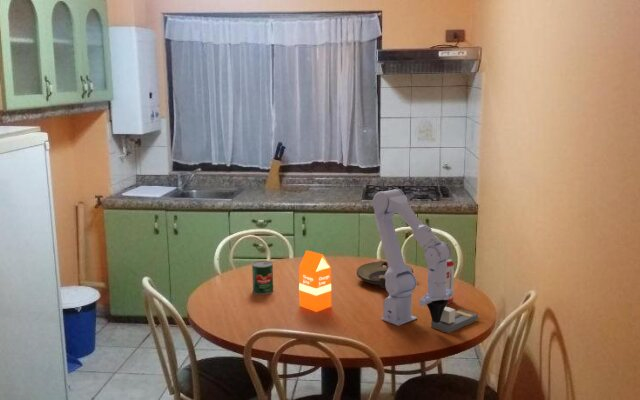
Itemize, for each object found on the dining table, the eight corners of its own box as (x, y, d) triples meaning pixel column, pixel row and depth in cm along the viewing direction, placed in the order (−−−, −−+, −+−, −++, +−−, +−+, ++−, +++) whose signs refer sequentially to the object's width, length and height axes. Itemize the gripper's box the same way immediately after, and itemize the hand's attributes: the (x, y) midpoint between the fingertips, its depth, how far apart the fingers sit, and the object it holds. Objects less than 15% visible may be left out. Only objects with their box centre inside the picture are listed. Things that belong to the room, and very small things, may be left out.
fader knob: (449, 323, 201) (449, 311, 201) (436, 319, 205) (436, 307, 204) (454, 321, 203) (455, 309, 202) (442, 317, 207) (442, 305, 206)
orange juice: (314, 300, 231) (313, 248, 227) (331, 306, 225) (331, 252, 221) (299, 305, 226) (298, 252, 222) (316, 312, 219) (315, 257, 216)
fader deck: (448, 333, 200) (448, 326, 200) (431, 326, 205) (431, 320, 205) (477, 320, 210) (477, 314, 210) (460, 314, 216) (460, 308, 215)
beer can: (440, 297, 232) (441, 256, 229) (456, 301, 228) (457, 259, 225) (432, 302, 228) (433, 260, 225) (447, 306, 224) (449, 263, 221)
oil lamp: (421, 277, 257) (421, 259, 255) (392, 299, 231) (393, 279, 230) (371, 269, 268) (371, 252, 266) (339, 290, 242) (339, 271, 241)
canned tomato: (260, 296, 236) (260, 268, 234) (248, 291, 242) (247, 263, 240) (277, 291, 241) (276, 263, 239) (265, 286, 247) (264, 259, 245)
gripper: (432, 289, 190) (431, 331, 193) (461, 279, 200) (460, 319, 202) (414, 283, 196) (413, 324, 198) (443, 274, 205) (442, 313, 208)
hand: (436, 321), depth 201 cm, fingers closed
